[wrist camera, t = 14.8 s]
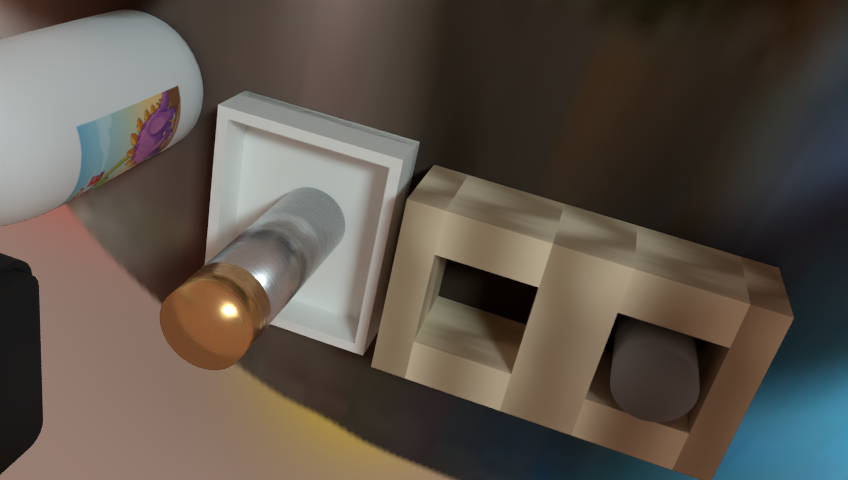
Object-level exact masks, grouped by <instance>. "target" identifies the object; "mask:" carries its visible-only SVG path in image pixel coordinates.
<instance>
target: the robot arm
mask: <svg viewBox="0 0 848 480" xmlns="http://www.w3.org/2000/svg"><path fill="white" fill-rule="evenodd" d="M41 377H42V374H41V341H40V310H39V285H38V280H37V279H36V277H34V276H32V272H31V268H30V267H29V265H28V264H27V263H25V262H23V261H22V260H19V259H15V258H12V257H10V256H7V255H4V254H1V253H0V474H1V473H2V472H4V471H5V470H6V469H7V468H8V467H9V466H10V465H11V464H12V463H13V462H15V461H16V460H17V459H18V458H19V457H20V456H21V455H22V454H23V453H24V452H25V451H27V450H28V449H29V448H30V447H31V446H32V445H33V444H34V442H35V441H36V439H37V437H38V436H39V434H40V431H41V428H42V424H43V409H42V408H43V407H42V378H41Z"/></svg>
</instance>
